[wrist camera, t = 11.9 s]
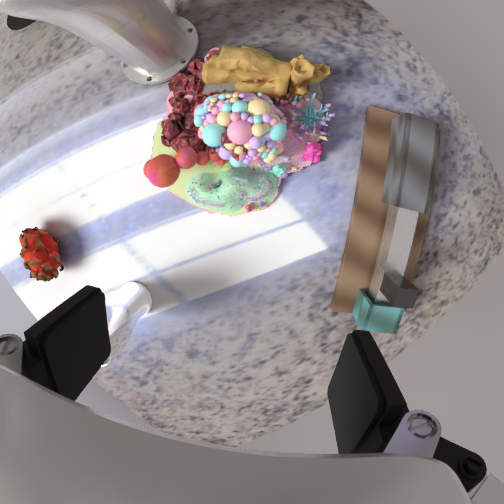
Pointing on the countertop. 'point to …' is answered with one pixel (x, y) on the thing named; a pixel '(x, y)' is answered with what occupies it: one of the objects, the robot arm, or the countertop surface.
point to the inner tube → (394, 261)
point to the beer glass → (125, 315)
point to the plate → (18, 22)
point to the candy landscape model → (238, 128)
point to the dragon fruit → (40, 254)
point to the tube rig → (386, 208)
